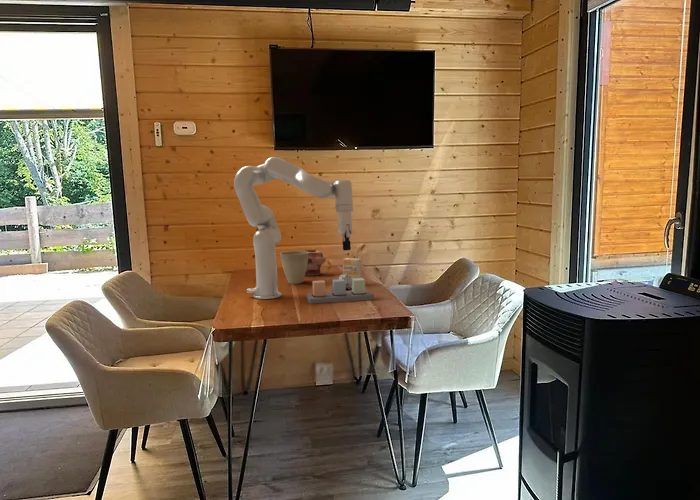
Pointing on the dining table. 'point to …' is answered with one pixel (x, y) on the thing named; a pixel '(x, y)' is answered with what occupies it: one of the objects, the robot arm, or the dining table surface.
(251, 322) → the dining table surface
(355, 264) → the supplement box
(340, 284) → the slate block
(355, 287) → the sage block
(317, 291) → the terracotta block
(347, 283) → the game die
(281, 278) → the dining table surface
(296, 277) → the plant pot
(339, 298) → the board
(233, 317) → the dining table surface
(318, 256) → the decorative planter
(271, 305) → the dining table surface
